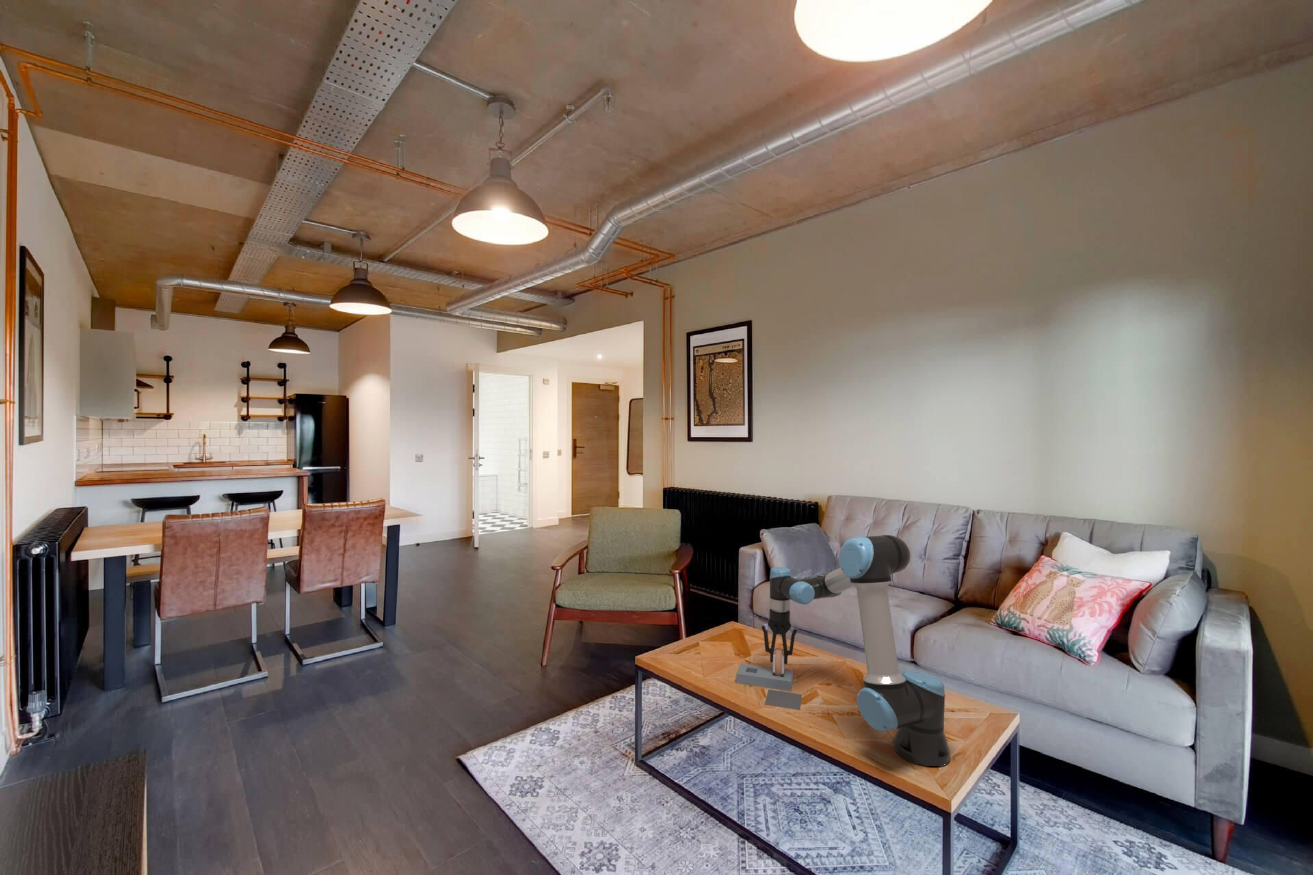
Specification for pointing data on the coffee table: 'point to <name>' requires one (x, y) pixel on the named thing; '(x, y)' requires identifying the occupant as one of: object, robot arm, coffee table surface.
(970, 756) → the coffee table surface
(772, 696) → the mat
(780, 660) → the peg
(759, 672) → the hole block
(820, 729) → the coffee table surface
